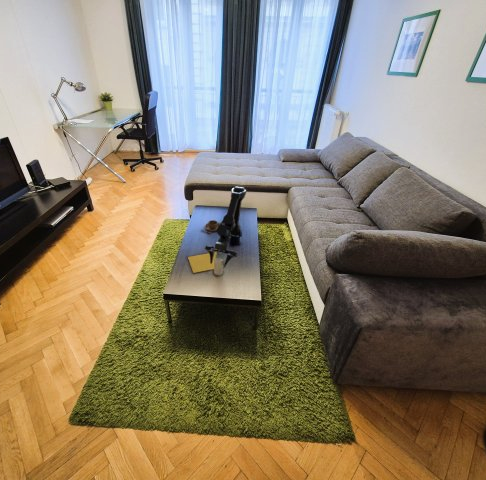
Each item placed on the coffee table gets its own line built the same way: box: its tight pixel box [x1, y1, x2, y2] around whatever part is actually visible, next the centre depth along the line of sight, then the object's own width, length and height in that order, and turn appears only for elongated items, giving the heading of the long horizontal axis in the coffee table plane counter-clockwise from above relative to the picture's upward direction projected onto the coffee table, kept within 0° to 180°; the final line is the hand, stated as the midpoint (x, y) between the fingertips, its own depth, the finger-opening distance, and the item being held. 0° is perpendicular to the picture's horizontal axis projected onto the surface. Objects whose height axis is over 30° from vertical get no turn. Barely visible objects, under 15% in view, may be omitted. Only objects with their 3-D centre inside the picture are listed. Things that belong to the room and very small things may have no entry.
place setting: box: [201, 219, 221, 234], centre depth 196 cm, size 18×20×6 cm
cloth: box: [187, 251, 225, 274], centre depth 164 cm, size 19×16×1 cm
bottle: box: [213, 253, 224, 276], centre depth 153 cm, size 5×5×12 cm
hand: (217, 265), depth 152 cm, fingers open, 8 cm apart
